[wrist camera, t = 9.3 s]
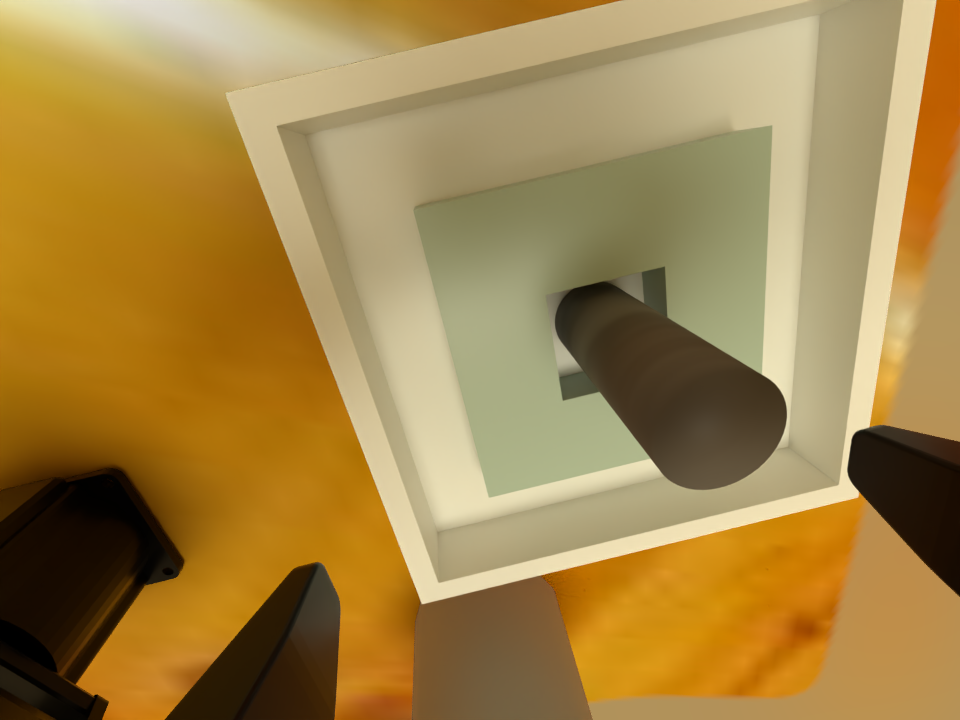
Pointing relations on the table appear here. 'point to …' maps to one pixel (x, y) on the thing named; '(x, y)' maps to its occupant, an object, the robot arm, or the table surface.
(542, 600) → the cup
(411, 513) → the tray
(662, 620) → the table surface
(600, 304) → the peg
